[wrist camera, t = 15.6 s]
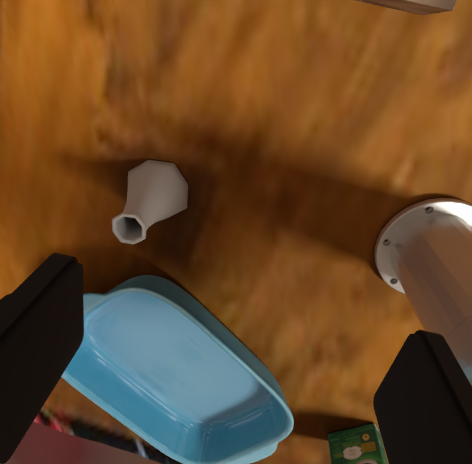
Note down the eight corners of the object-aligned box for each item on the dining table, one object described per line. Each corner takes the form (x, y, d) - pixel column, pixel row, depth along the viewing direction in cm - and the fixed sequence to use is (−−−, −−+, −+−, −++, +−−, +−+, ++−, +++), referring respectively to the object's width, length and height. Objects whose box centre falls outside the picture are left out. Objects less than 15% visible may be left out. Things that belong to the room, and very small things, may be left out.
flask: (119, 164, 41) (76, 199, 32) (180, 153, 40) (153, 186, 31) (139, 221, 44) (106, 267, 35) (196, 212, 43) (177, 258, 34)
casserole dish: (317, 396, 56) (323, 441, 50) (210, 442, 64) (203, 486, 58) (147, 225, 44) (126, 256, 38) (42, 308, 53) (10, 345, 46)
